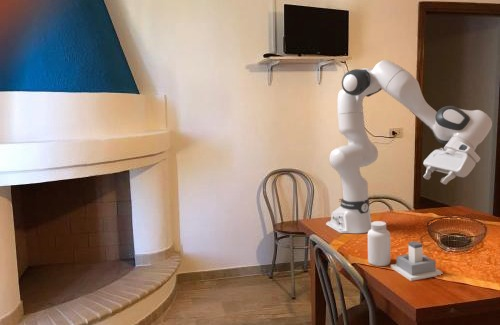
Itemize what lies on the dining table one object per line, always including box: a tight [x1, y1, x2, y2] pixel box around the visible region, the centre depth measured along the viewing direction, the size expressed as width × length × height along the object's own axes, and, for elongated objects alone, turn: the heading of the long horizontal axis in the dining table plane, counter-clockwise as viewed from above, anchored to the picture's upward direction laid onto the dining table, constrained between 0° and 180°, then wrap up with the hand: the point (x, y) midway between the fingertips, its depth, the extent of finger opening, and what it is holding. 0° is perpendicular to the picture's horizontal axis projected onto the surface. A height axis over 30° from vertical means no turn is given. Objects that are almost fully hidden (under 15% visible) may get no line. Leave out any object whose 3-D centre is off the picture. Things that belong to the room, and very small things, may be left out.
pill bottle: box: [367, 220, 392, 267], centre depth 158 cm, size 8×8×15 cm
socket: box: [390, 253, 444, 282], centre depth 149 cm, size 12×12×4 cm
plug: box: [407, 240, 424, 263], centre depth 149 cm, size 4×3×9 cm
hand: (433, 180), depth 154 cm, fingers open, 8 cm apart
